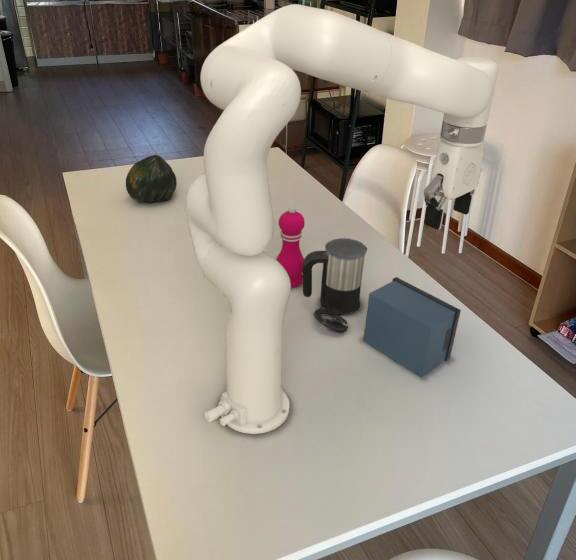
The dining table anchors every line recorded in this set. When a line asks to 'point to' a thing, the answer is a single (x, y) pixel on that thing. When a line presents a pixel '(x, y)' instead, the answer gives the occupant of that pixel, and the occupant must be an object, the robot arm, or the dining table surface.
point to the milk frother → (336, 280)
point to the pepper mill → (291, 245)
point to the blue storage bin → (410, 326)
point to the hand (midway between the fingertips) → (446, 219)
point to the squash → (151, 180)
